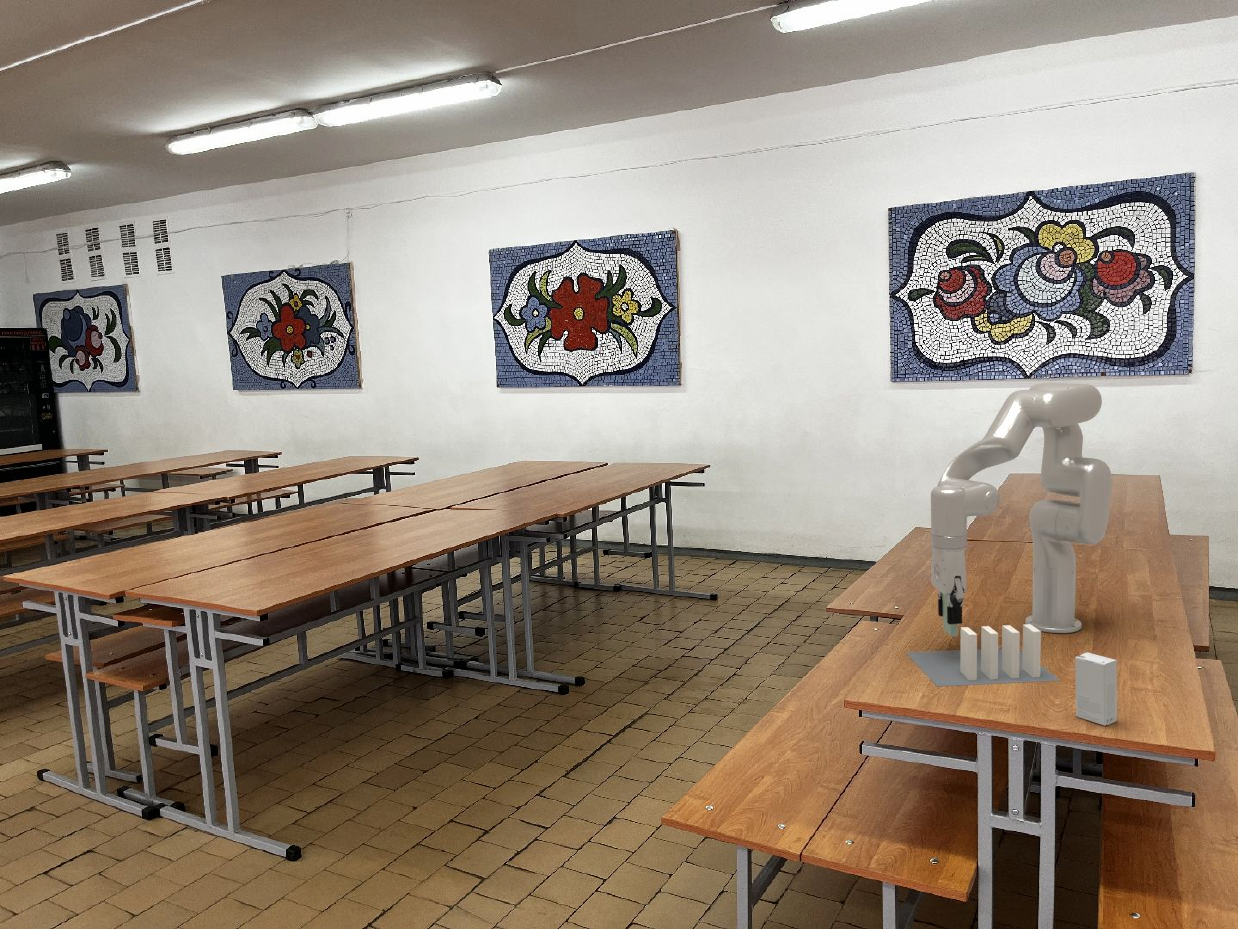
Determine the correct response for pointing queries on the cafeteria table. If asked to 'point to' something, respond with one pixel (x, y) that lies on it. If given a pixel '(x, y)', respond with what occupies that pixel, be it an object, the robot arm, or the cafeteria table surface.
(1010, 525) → the cafeteria table surface
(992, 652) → the domino
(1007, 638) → the domino
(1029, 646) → the domino
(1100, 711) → the skincare box
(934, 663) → the slate mat
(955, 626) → the domino end
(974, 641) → the domino
